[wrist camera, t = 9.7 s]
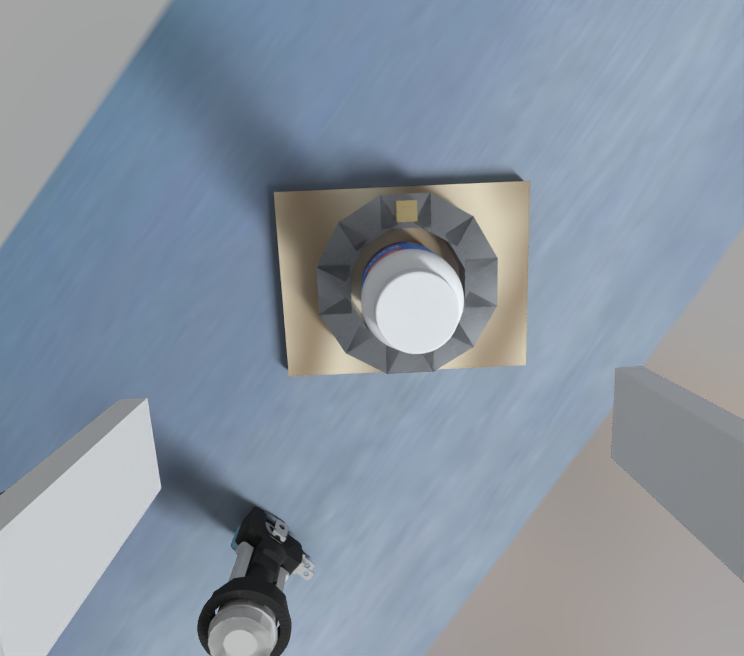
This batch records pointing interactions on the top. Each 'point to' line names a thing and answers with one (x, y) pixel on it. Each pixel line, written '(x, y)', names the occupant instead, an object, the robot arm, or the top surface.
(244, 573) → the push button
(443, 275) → the pill bottle
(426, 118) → the top surface
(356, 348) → the ring
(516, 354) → the board
